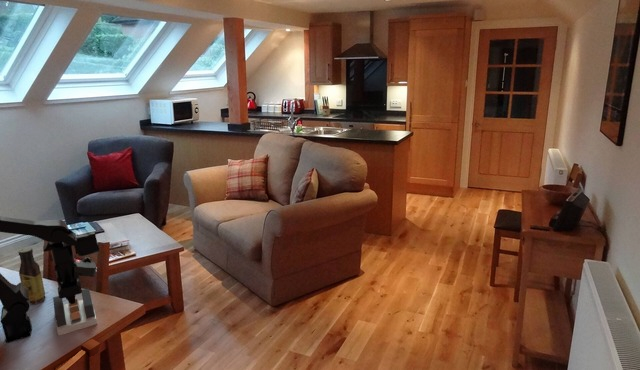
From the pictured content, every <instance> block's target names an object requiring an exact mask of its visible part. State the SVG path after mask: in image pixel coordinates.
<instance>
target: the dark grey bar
mask: <svg viewBox="0 0 640 370" xmlns="http://www.w3.org/2000/svg"><path fill="white" fill-rule="evenodd" d="M52 300H53V311H54V319H55V322H56V323H57V324H56V328H57V327H60V326H64V325H66V319H65V311H64V305H65V304H64V301H63V298H62V299H60V298H59V295H58V296H54V297H52Z"/></svg>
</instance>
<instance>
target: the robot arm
mask: <svg viewBox="0 0 640 370" xmlns="http://www.w3.org/2000/svg"><path fill="white" fill-rule="evenodd" d="M0 233H5V234H6V233H7V234H13V235H23V236H31V237H35V238H38V239H39V240H40V239H41V240H42V241H45V242H46V243H45V244H44V245H43V246H42V247H43V252H44V253H46V252H50V253H51V257H52V263H53V267H54V271H55V276H56V281H57V294H58V296H59V298H60V299H62V300H63V299H66V300H67V302H68V301H69V302H70V303H71V304H74V303H75V299H76V295H77V296H78V295H80V294H81V295H82V290H83V289H82V285H81V282H80V277H90V278H94V277H95V276H96V271H97V264H96V262H94V261H91V258H90V257H88V256H89V255H93V254H98V253H100V246H99V242H98V240H97V236H96V232H95V231H93V232H88V233H86V234H85V233H84V234H80V235H77V234H76V233H75V232H74V231H73V230H71V229H70V228H69V227H68V224H67V223H66V222H65V221H64V220H61V219H43V220H29V219H22V218H14V217H9V216H8V217H7V216H0ZM73 246H74V251H73ZM74 252H75V254H76V255H78V257H83V259H82V260H79V261H77V259H76V258H75V257H74ZM69 302H68V303H69ZM0 303H1V305H2V307H1V313H0V314H1V315H0V324H1V327H2V330H3V334H4V338H5V339H4V341H5V344H8V343H11V342H15V341H17V340H18V341H19V340H22V339H26V338H29V337H31V333H32V331H33V326H32V321H31V317H30V315H27V314H28V311H29V310H30V307H31V306H30V305H31V304H30V296H29V290H27V289H26V288H24V287H23V285H22V284H21V282H18V284H14V283H11V282H10V281H9V280H8V279H7V278H6V277H5V276H4V275H2V274H1V272H0Z"/></svg>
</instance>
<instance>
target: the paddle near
mask: <svg viewBox="0 0 640 370" xmlns="http://www.w3.org/2000/svg"><path fill="white" fill-rule="evenodd" d="M70 315H71V320H75V319H78V318H81V316H80V311H77V312H74V313H70Z"/></svg>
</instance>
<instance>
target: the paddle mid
mask: <svg viewBox="0 0 640 370" xmlns="http://www.w3.org/2000/svg"><path fill="white" fill-rule="evenodd" d="M69 309H70V313H74V312H77V311H79V306H78V305H74V306H71V307H69Z"/></svg>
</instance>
